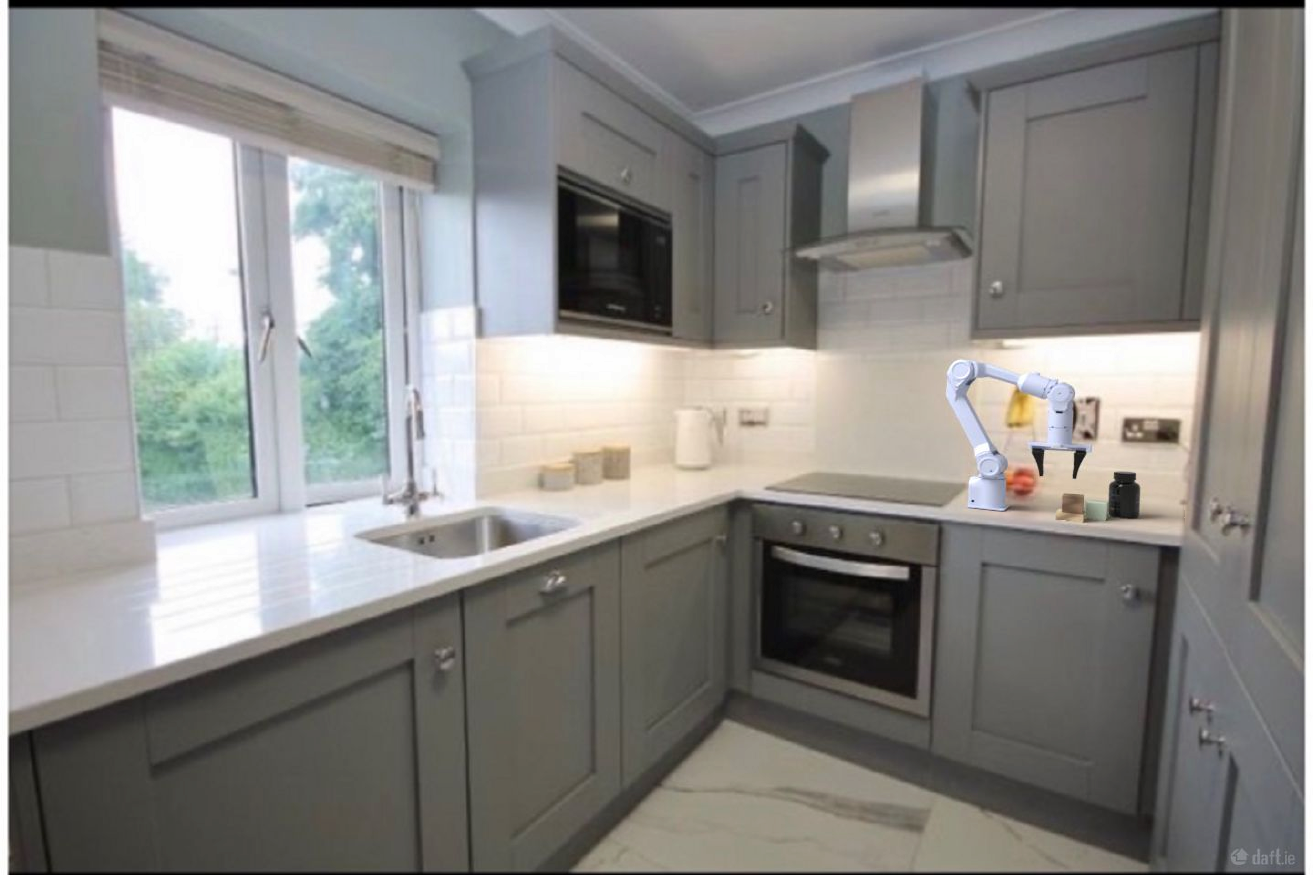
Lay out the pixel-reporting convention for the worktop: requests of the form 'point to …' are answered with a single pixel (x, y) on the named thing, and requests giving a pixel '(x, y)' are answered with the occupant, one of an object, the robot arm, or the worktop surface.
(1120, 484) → the supplement bottle
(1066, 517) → the oak slab
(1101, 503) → the sage cube
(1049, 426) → the robot arm
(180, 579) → the worktop surface
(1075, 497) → the walnut cube
